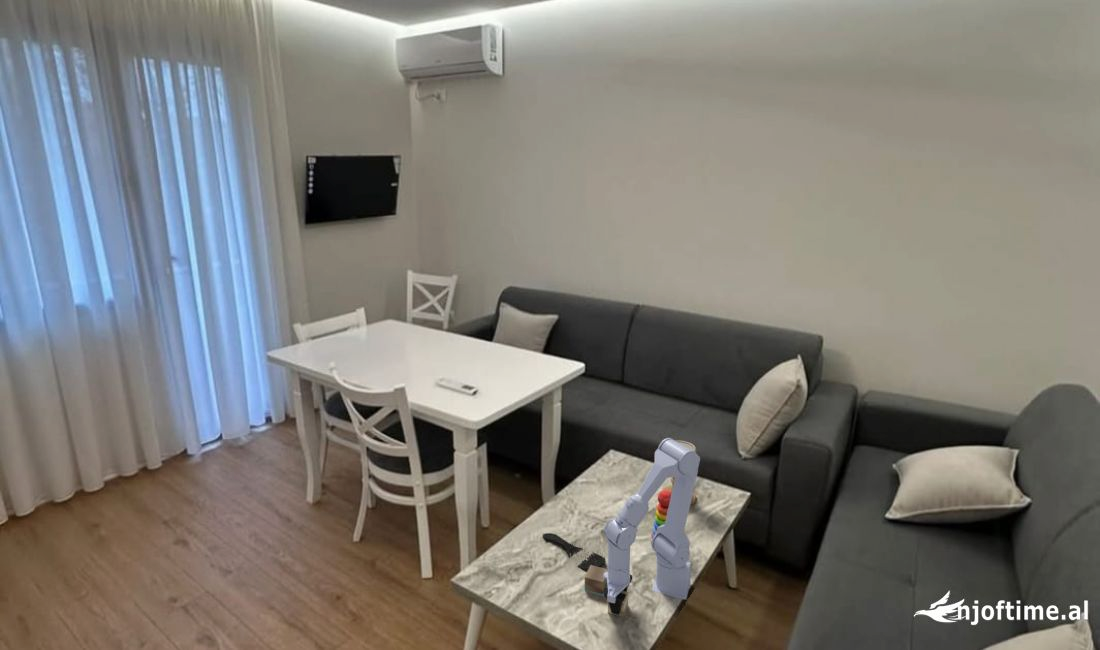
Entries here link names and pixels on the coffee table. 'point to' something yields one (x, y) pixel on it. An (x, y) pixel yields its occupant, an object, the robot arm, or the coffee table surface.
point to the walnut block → (595, 579)
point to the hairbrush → (568, 547)
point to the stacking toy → (661, 510)
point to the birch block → (624, 605)
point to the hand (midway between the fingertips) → (618, 606)
